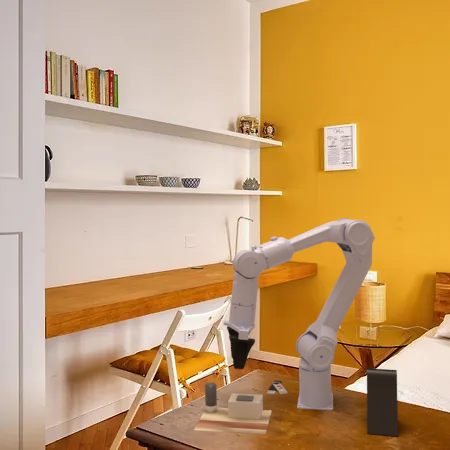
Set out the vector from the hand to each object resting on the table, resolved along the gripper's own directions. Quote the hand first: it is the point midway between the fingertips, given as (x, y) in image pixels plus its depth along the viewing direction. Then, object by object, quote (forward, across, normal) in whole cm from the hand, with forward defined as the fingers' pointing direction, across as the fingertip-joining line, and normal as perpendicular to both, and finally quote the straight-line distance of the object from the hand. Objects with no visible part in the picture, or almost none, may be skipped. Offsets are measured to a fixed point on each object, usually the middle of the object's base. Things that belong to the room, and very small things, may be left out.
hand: (237, 363), depth 120 cm
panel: (+11, +5, 0) cm, 12 cm away
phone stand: (+8, +11, +30) cm, 33 cm away
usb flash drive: (+10, -12, +13) cm, 20 cm away
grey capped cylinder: (+11, 0, -5) cm, 12 cm away
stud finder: (+10, +2, +3) cm, 11 cm away
